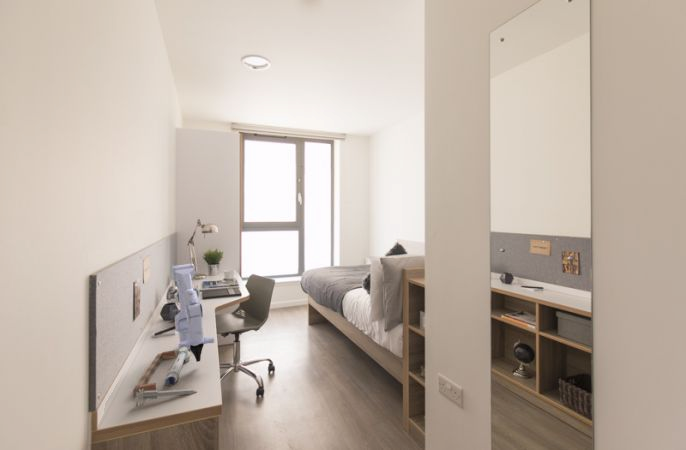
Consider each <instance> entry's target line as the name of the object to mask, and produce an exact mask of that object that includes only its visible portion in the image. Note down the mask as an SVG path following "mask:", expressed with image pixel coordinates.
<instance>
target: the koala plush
mask: <svg viewBox="0 0 686 450" xmlns="http://www.w3.org/2000/svg"><path fill="white" fill-rule="evenodd" d="M193 290H195V291H196V292H197V296H198V298H200V296H201V294H200V293H201V290H200V289H199V288H198V287H194V288H193ZM174 298H175V299H174V300H175V301H176V302H177V303H179V304H180V301H179V292H176V293H174ZM179 312H180V309H173V310H172V316H173V315H174V317H173V319H174V320H175V316H176V315H177V314H178V313H179ZM201 316H202V318H203V315H201Z"/></svg>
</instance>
